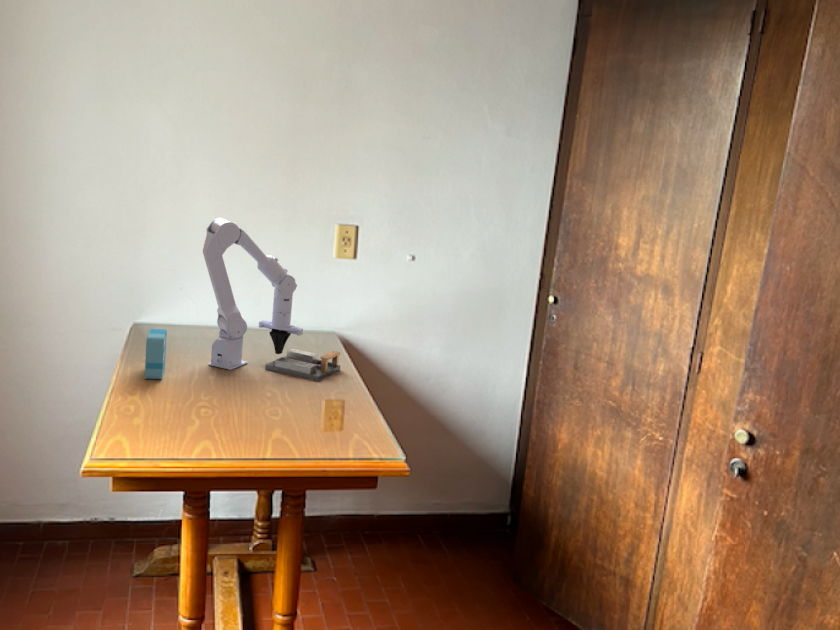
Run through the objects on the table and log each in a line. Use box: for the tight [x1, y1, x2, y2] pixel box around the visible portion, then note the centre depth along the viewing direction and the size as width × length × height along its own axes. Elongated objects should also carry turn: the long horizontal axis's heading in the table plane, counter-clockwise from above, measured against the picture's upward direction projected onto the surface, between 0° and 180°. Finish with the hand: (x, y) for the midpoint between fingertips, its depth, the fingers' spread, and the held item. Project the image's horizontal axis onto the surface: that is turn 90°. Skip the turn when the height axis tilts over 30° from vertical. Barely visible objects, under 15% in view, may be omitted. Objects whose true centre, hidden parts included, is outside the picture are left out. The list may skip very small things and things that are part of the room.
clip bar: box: [286, 348, 319, 364], centre depth 243 cm, size 4×9×3 cm, turn 70°
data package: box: [144, 328, 168, 380], centre depth 219 cm, size 12×4×12 cm, turn 14°
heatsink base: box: [264, 350, 341, 382], centre depth 240 cm, size 15×18×6 cm
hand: (278, 353), depth 246 cm, fingers closed
